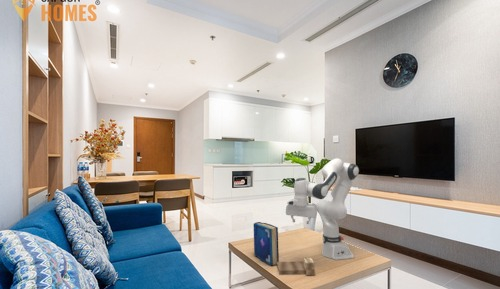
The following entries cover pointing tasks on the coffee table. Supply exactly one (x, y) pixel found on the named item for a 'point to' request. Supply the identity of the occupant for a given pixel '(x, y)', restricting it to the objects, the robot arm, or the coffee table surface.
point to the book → (266, 243)
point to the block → (309, 266)
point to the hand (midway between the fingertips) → (300, 223)
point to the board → (291, 268)
